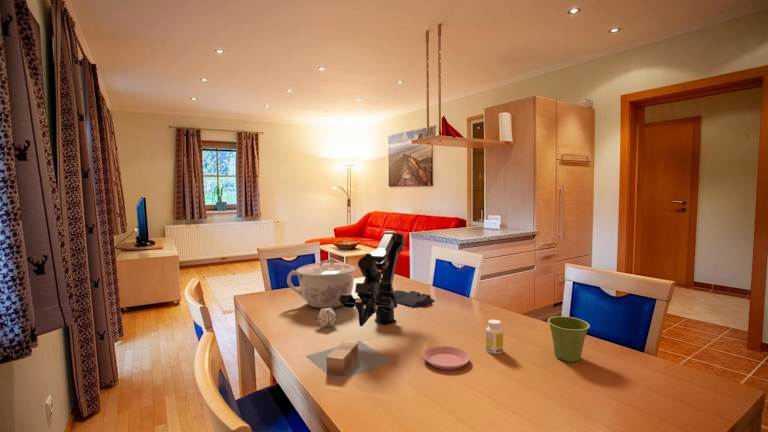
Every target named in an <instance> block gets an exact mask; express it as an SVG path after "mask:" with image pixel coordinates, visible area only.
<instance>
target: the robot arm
mask: <svg viewBox="0 0 768 432" xmlns="http://www.w3.org/2000/svg"><path fill="white" fill-rule="evenodd" d="M406 241H407V240H406V237H405V236H404V234H401V233H397V232H396V231H393V230H392V231H389V230H387V231H383V234H382V238H381V240H380V242H379V244H378V245H377V247H376V249H375V250H373V251H371V252H370V253H366V254H365V256H362V257H361V258H360V259H358V261H357V266H358V268H359V270H360V272H361V274H362V276H363V277H364V280H363V282H362V283H361V282H356V283H355V290H354V293H355V294H356V295H357V297H355V298H354V296H353V294H352V293H351V294H342V295H341V296H340V298H339V301H340V303H341V304H342V305H341V306H342V307H343V308H345V309H353V308H355V309H356V310H357V313H358V324H359V325H358V326H359V327H363V326H365V324H366V323H367V322H368V320H369V319H370V318H371V317H372V316H373V315H374V314H375V316H376V317H375V319H374V321H375V322H377V323H378V324H380V325H383V326H384V325H388V324H392V323H396V322H397V320H396V319H395V308H398V304H397V298H396V296H395V292H394V291H395V290H394V287H393V281H394V277H395V273H396V267H397V261H398V257H399V255H400V254H401V253H402V251H404V247H405V245H406ZM381 271H382V272H381Z"/></svg>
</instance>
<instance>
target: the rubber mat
mask: <svg viewBox="0 0 768 432" xmlns="http://www.w3.org/2000/svg"><path fill="white" fill-rule="evenodd" d="M356 342H357V343H358V360H357V361H356V362H355V363H354V364H353V365H352V367H351V368H350V369H349V370H348V371H347V372H346V373H345V375H344V376H337V375H330V374H327V361H326V357H327V356H328V355H329V354H330V353H331V352H332V351H333V350H334V349H335V348H336V347H332V348H329V349H326V350H321V351H319V352H315V353H312V354H308V355H305V358H307V359H308V360H309V361H311V362H312V363H313V364H314V365H315V366H317V367H318V368H319V369H321V370H322V371H323V372H324V373H325V374H327V375H328V377H331V379H333V380H334V381H335V382H339V381H342V380H345V379H348V378H350V377H354V376H357V375H360V374H362V373H366V372H368V371H372V370H375V369H376V368H380V367H383V366H386V365H389V364H391V363H394V362H395V361H394V360H392V359H391V358H390V357H387V356H386V355H384V354H383V353H381V352H379V351H377V350H375V349H374V348H372V347H370V346H369V345H367V344H366V343H364V342H362V341H360V340H357V341H356Z"/></svg>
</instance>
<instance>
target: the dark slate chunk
mask: <svg viewBox="0 0 768 432" xmlns="http://www.w3.org/2000/svg"><path fill="white" fill-rule="evenodd" d="M394 292H395V296H396V298H397V305H401V306H403V305H404V307H406V308H407V307H408V308H410V307H411V309H419V307H420V308H422V307H426V306H429V305H432V304H433V303H434V302H435V299H433V298H432V297H431V295H430V294H427V293H421V292H419V291H415V290H410V291H408V292H407V291H405V290H394Z"/></svg>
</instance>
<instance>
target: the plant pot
mask: <svg viewBox="0 0 768 432" xmlns="http://www.w3.org/2000/svg"><path fill="white" fill-rule="evenodd" d="M547 323H548V324H549V329H550V331H551V339H552V344H553V351H554V356H555V357H556V358H557V359H558V358H559V359H558V360H560V359H561V361H562V360H563V361H564V362H567V361H568V363H576V362H575V361H577V362H579V361H580V360H581V357H582V352H583V350H584V349H583V348H584V343H585V339H586V335H587V333H588V330H589V329H590V327H591V325H590V323H588V322H587V321H585V320H583V319H580V318H577V317H571V316H564V315H563V316H561V315H559V316H557V315H556V316H552V317H549V318H548V319H547Z"/></svg>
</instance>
